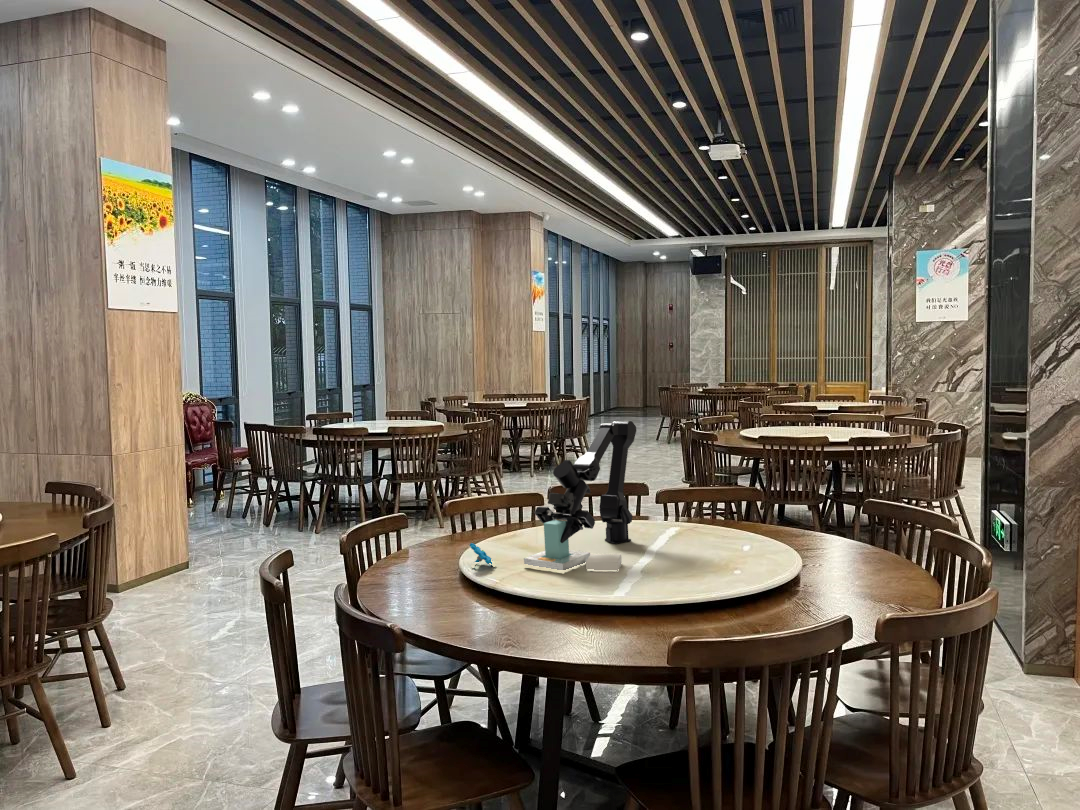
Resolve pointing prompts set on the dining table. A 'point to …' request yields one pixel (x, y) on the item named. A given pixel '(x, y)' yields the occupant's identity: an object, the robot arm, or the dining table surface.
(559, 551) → the teal square peg
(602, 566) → the white flat square block
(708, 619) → the dining table surface
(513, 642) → the dining table surface
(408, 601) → the dining table surface
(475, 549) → the blue splat disc
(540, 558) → the hole plate
